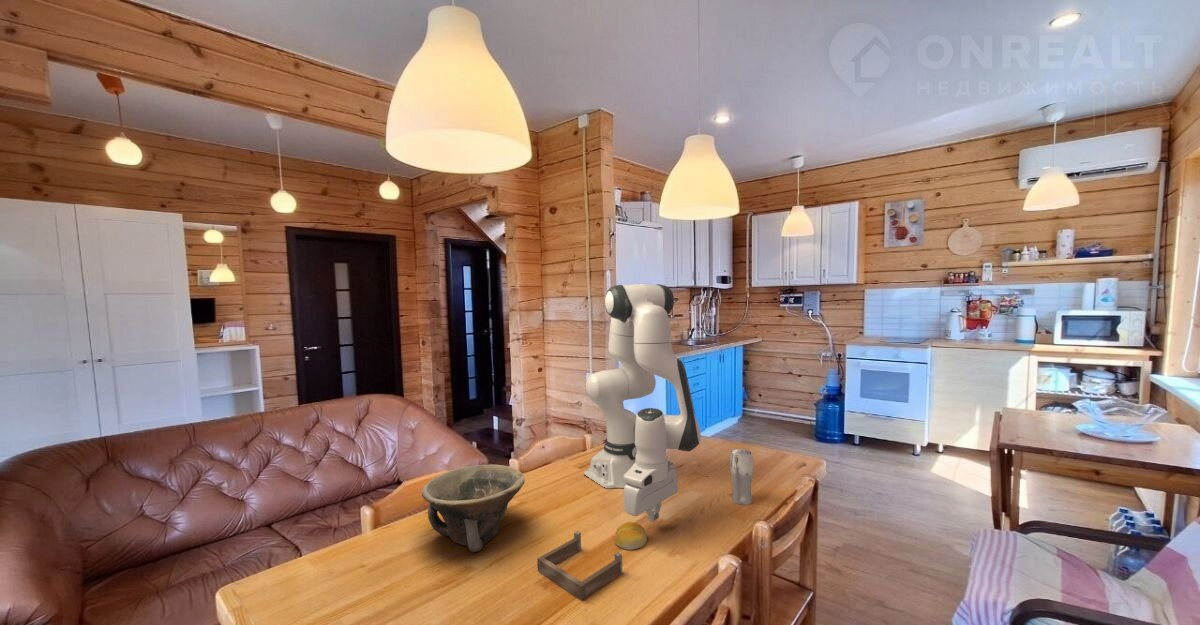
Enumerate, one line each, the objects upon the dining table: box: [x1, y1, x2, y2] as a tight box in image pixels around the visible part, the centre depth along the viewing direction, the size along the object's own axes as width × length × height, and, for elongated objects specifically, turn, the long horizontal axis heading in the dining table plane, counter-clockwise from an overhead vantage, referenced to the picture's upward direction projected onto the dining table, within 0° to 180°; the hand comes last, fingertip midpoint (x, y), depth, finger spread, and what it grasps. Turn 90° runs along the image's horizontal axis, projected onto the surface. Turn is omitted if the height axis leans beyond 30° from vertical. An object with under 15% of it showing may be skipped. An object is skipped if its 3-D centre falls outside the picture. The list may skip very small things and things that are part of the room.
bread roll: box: [614, 521, 648, 551], centre depth 114 cm, size 8×9×4 cm
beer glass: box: [729, 448, 754, 506], centre depth 135 cm, size 7×7×15 cm
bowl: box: [421, 464, 526, 553], centre depth 121 cm, size 27×26×15 cm
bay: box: [536, 530, 623, 601], centre depth 102 cm, size 15×13×4 cm
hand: (653, 519), depth 121 cm, fingers closed
